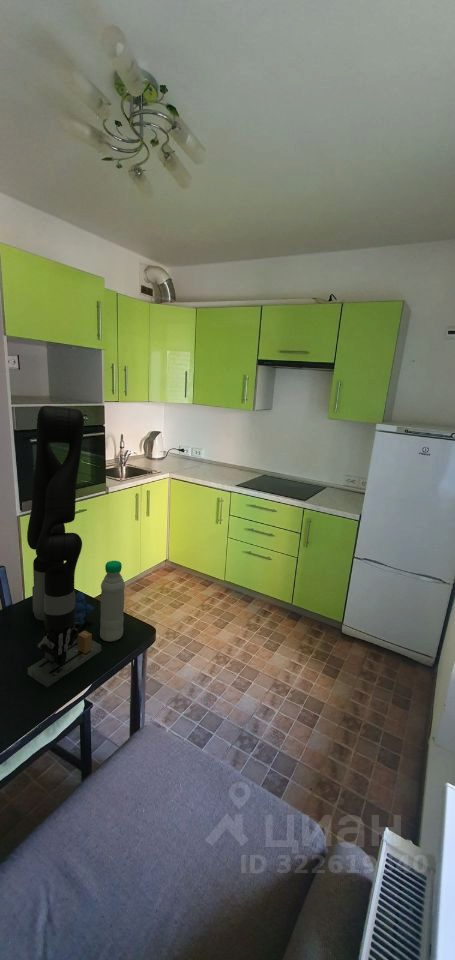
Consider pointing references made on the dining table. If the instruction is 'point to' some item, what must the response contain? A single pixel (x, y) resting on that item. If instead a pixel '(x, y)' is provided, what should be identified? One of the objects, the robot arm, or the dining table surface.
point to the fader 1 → (49, 654)
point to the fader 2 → (84, 641)
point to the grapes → (81, 608)
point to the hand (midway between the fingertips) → (60, 663)
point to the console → (52, 672)
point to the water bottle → (112, 602)
